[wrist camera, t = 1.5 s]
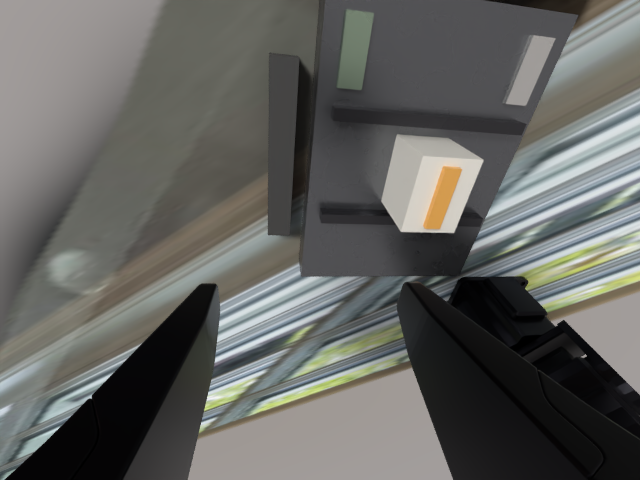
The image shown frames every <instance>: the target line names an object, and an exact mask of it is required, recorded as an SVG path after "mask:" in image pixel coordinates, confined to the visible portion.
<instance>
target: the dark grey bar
mask: <svg viewBox="0 0 640 480" xmlns="http://www.w3.org/2000/svg"><path fill="white" fill-rule="evenodd" d="M298 76H299V57H298V56H293V55H284V54H275V53H270V54H269V158H268V235H290V220H291V202H292V184H293V166H294V148H295V130H296V112H297V94H298Z"/></svg>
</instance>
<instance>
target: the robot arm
mask: <svg viewBox="0 0 640 480" xmlns="http://www.w3.org/2000/svg"><path fill="white" fill-rule="evenodd" d="M527 284H528V281H527V280H526V279H525V278H524V277H463V278H461V279H460V280H459V281H458V282H457V284H456V287H455V289H454V291H453V293H452V295H451V297H450V299H449V302H448V303H447V302H446V301H445V300H443V299H442V298H441V297H439V296H438V295H436V294H435V293H434V292H432V291H431V290H430V289H428V288H427V287H426V286H424V285H423V284H422V283H420V282H405V283H404V284H403V286H402V289H401V292H400V295H399V298H398V301H397V311H398V315H399V319H400V324H401V328H402V332H403V336H404V340H405V344H406V348H407V352H408V355H409V359H410V362H411V365H412V368H413V371H414V373H415V376H416V378H417V382H418V384H419V387H420V390H421V393H422V395H423V398H424V401H425V404H426V406H427V409H428V412H429V414H430V417H431V420H432V423H433V425H434V428H435V431H436V434H437V437H438V439H439V442H440V444H441V447H442V450H443V453H444V456H445V458H446V461H447V464H448V467H449V469H450V472H451V474H452V477H453V480H640V395H639V394H638V393H637V392H636V391H635V390H634V389H633V388H632V387H631V386H630V385H629V384H628V383H627V382H626V381H625V380H624V379H623V378H622V377H621V376H620V375H619V374H618V373H617V372H616V371H615V370H614V369H613V368H612V367H611V366H610V365H609V364H608V363H607V362H606V361H604V360H603V358H602V357H601V356H600V355H599V354H597V352H596V351H595V350H594V349H593V348H592V347H591V346H589V344H587V342H585V341H584V340H583V338H581V336H580V335H578V333H576V332H575V331H574V330H573V329H572V328H571V327H570V326H569V325H568V324H567V323H566V322H565V321H564V320H563V321H561V322H560V323H558V324H557V325H558V326H556V327H555V326H554V325H553V324H552V323H551V321H550V320H549V319H548V318H547V317H546V316H547V312H546V310H545V309H544V308H543V307H542V306H541V305H540V304H539V303H538V302H537V301H536V300H535V299H534V298H533V297H532V296H531V295H530V294H529V293H528V292H527V291H526V290H525V287H526V286H527ZM219 318H220V302H219V292H218V286H217V285H216V284H214V283H213V284H200V285H199V286H198V287H197V288H196V289H195V290H194V291H193V292H192V293H191V294H190V295H189V296H188V297H187V298H186V299H185V300H184V301H183V302H182V303H181V304H180V305H179V306H178V307H177V308H176V309H175V310H174V311H173V312H172V313H171V314H170V316H169V317H168V318H167V319H166V320H165V321H164V322H163V323H162V324H161V325H160V326H159V327H158V328H157V329H156V330H155V331H154V332H153V333H152V334H151V335H150V336H149V337H148V338H147V339H146V340H145V341H144V342H143V343H142V344H141V345H140V346H139V347H138V348H137V349H136V350H135V352H134V353H133V354H132V355H131V356H130V357H129V358H128V359H127V360H126V361H125V362H124V363H123V364H122V365H121V366H120V367H119V368H118V369H117V370H116V371H115V372H114V373H113V374H112V375H111V376H110V377H109V378H108V379H107V380H106V381H105V382H104V383H103V384H102V385H101V386H100V388H99V389H98V390H97V391H96V392H95V393H94V394H93V395H92V399H88V400H87V401H86V402H85V403H84V404H83V405H82V406H81V407H80V408H79V409H78V410H77V411H76V412H75V413H74V414H73V415H72V416H71V417H70V418H69V419H68V420H67V421H66V422H65V423H64V424H63V425H62V426H61V427H60V428H59V429H58V430H57V431H56V432H55V433H54V434H53V435H52V436H51V437H50V438H49V439H48V440H47V441H46V442H45V443H44V444H43V445H42V446H41V447H40V448H38V449H37V450H36V451H35V452H34V453H33V454H32V455H31V456H30V457H29V458H28V459H27V460H25V461H24V462H23V463H22V464H21V465H20V466H19V467H18V468H17V469H16V470H15V471H14V472H12V473H11V474H10V475H9V476H8V477H7V478H6V479H5V480H188V475H189V471H190V467H191V462H192V459H193V454H194V450H195V446H196V442H197V438H198V433H199V429H200V425H201V421H202V417H203V412H204V408H205V404H206V400H207V395H208V391H209V387H210V383H211V379H212V374H213V369H214V362H215V353H216V345H217V336H218V327H219ZM585 354H586V355H587V357H585V358H581V356H583V355H585Z"/></svg>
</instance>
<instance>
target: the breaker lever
mask: <svg viewBox="0 0 640 480" xmlns="http://www.w3.org/2000/svg"><path fill="white" fill-rule="evenodd" d="M483 161H484V160H483V159H482V158H480V157H478V156H477V155H475V154H474V153H472V152H470V151H469V150H467V149H465V148H464V147H462V146H460V145H459V144H457V143H456V142H454V141H452V140H451V139H449V138H442V137H428V136H414V135H400V134H397V136H396V140H395V144H394V149H393V153H392V157H391V161H390V166H389V170H388V174H387V178H386V183H385V187H384V191H383V195H382V200H381V202H382V203H383V205H384V206H385V208H386V209H387V211H388V213H389V214H390V216H391V217H392V219H393V220H394V222H395V224H396V225H397V227H398V228H399V230H400V231H401V232H430V233H454V232H455V229H456V227H457V225H458V222H459V220H460V217H461V215H462V212H463V210H464V207H465V205H466V202H467V200H468V198H469V195H470V193H471V190H472V188H473V185H474V183H475V180H476V178H477V175H478V173H479V171H480V168H481V166H482V163H483Z"/></svg>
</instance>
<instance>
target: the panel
mask: <svg viewBox="0 0 640 480" xmlns="http://www.w3.org/2000/svg"><path fill="white" fill-rule="evenodd" d="M577 18H578V15H575V14H569V13H563V12H556V11H550V10H543V9H537V8H530V7H524V6H518V5H511V4H505V3H498V2H492V1H485V0H320V1H319V14H318V27H317V39H316V52H315V64H314V77H313V89H312V102H311V114H310V127H309V139H308V152H307V165H306V177H305V190H304V202H303V215H302V227H301V240H300V252H299V263H300V272H301V277H304V276H453V275H459V274H460V272H461V270H462V267H463V265H464V263H465V261H466V259H467V257H468V254H469V252H470V250H471V248H472V246H473V244H474V241H475V239H476V237H477V235H478V233H479V231H480V228H481V226H482V224H483V222H484V220H485V217H486V215H487V213H488V211H489V209H490V207H491V204H492V202H493V200H494V198H495V196H496V194H497V191H498V189H499V187H500V185H501V183H502V181H503V178H504V176H505V174H506V172H507V170H508V167H509V165H510V163H511V161H512V159H513V157H514V154H515V152H516V150H517V148H518V146H519V144H520V141H521V139H522V137H523V135H524V133H525V131H526V128H527V126H528V124H529V122H530V120H531V117H532V115H533V113H534V111H535V109H536V107H537V104H538V102H539V100H540V98H541V96H542V94H543V91H544V89H545V87H546V85H547V83H548V81H549V78H550V76H551V74H552V72H553V70H554V68H555V65H556V63H557V61H558V59H559V57H560V54H561V52H562V50H563V48H564V46H565V44H566V41H567V39H568V37H569V35H570V33H571V31H572V28H573V26H574V24H575V22H576V20H577ZM397 134H400V135H414V136H428V137H442V138H449V139H451V140H452V141H454V142H456V143H457V144H459V145H460V146H462V147H464V148H465V149H467V150H469V151H470V152H472V153H474V154H475V155H477V156H478V157H480V158H482V159H483V160H484V161H483V163H482V166H481V168H480V171H479V173H478V175H477V178H476V180H475V183H474V185H473V188H472V190H471V193H470V195H469V198H468V200H467V202H466V205H465V207H464V210H463V212H462V215H461V217H460V220H459V222H458V225H457V227H456V229H455V232H454V233H430V232H401V231H400V230H399V228H398V227H397V225H396V224H395V222H394V220H393V219H392V217H391V216H390V214H389V213H388V211H387V209H386V208H385V206H384V205H383V203H382V202H381V200H382V195H383V191H384V187H385V183H386V178H387V174H388V170H389V166H390V161H391V157H392V153H393V149H394V144H395V140H396V136H397Z"/></svg>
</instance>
